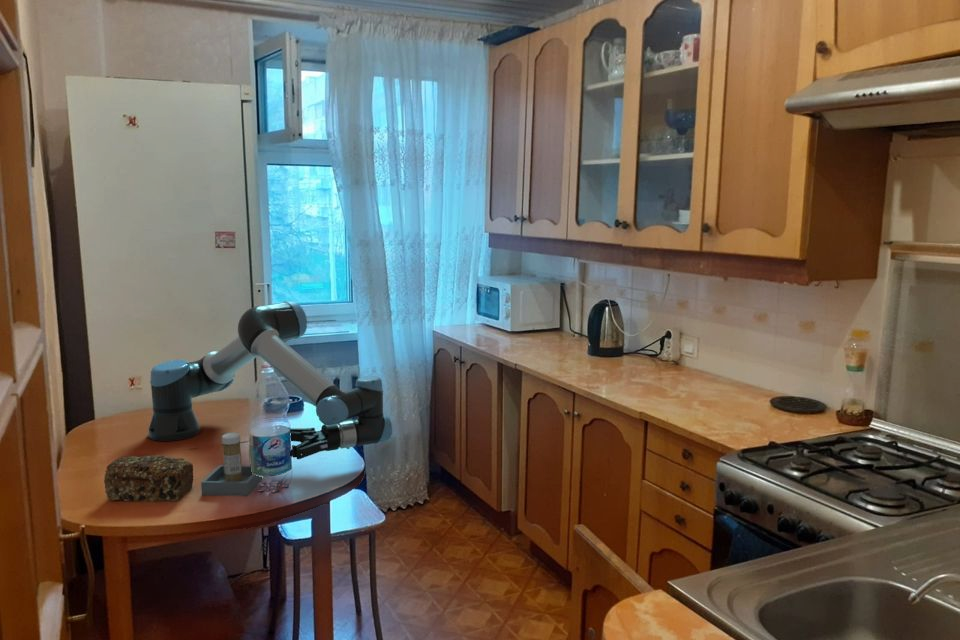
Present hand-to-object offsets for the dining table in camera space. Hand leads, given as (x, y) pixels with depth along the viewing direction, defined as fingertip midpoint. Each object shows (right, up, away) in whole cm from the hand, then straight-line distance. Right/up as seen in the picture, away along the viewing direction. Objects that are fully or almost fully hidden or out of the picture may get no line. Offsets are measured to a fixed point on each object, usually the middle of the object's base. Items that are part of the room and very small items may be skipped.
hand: (260, 447), depth 187 cm
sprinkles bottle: (-6, -9, -2) cm, 11 cm away
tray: (-7, -10, -2) cm, 12 cm away
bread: (-26, -11, -7) cm, 29 cm away
